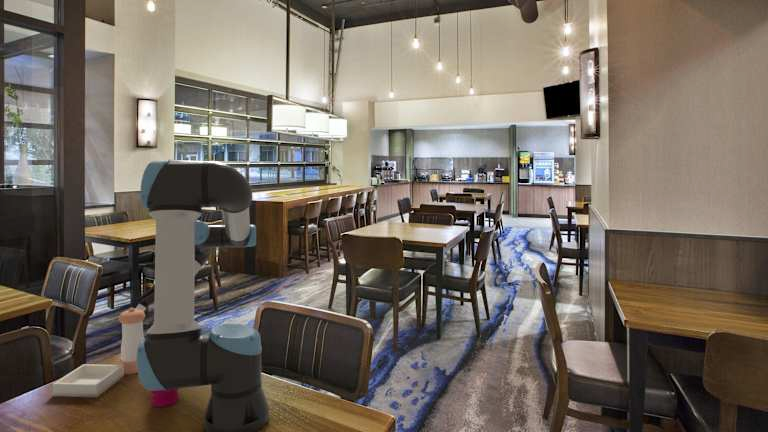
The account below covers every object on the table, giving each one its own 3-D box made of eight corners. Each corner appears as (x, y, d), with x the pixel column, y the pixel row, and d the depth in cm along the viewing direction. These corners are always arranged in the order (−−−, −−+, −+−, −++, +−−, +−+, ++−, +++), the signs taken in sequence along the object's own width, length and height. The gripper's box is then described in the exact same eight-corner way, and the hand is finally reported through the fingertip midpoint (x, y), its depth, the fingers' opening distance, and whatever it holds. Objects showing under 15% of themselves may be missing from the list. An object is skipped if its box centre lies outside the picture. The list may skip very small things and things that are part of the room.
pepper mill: (158, 411, 110) (155, 335, 108) (145, 402, 114) (141, 328, 112) (185, 400, 116) (183, 327, 114) (172, 391, 120) (169, 321, 118)
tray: (97, 397, 116) (96, 384, 116) (53, 396, 116) (52, 383, 116) (124, 376, 128) (123, 365, 128) (84, 375, 128) (83, 364, 128)
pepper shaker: (144, 361, 138) (141, 302, 136) (150, 369, 133) (148, 308, 131) (117, 368, 133) (115, 307, 131) (123, 376, 128) (120, 313, 126)
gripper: (214, 283, 141) (171, 342, 130) (170, 272, 155) (128, 325, 144) (198, 270, 136) (153, 331, 125) (155, 260, 150) (110, 314, 139)
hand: (140, 328), depth 134 cm, fingers open, 13 cm apart
